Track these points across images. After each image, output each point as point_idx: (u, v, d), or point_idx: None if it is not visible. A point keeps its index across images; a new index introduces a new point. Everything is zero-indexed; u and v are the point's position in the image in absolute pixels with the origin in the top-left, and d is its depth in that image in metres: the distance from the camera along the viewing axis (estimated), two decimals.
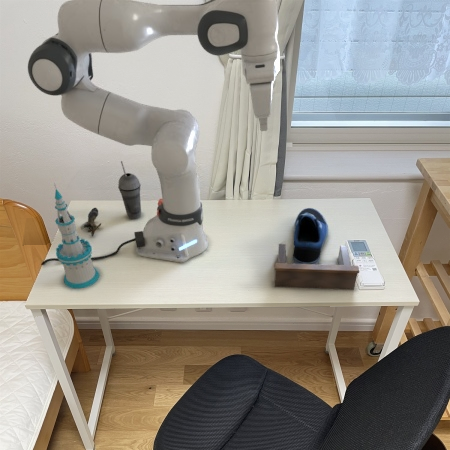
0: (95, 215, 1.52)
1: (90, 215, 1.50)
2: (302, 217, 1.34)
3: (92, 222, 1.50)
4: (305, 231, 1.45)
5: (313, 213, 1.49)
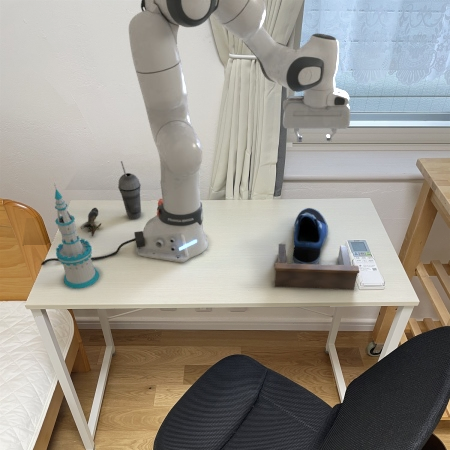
0: (95, 215, 1.52)
1: (90, 215, 1.50)
2: (302, 217, 1.34)
3: (92, 222, 1.50)
4: (305, 231, 1.45)
5: (313, 213, 1.49)
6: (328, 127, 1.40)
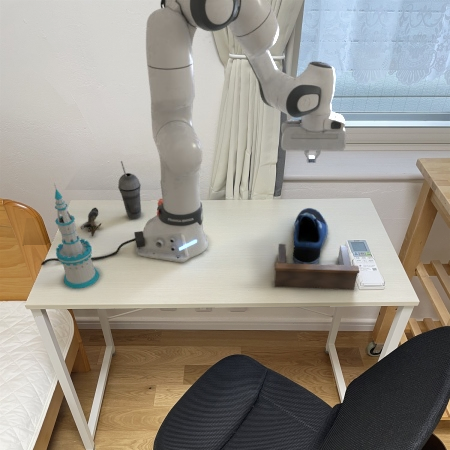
0: (95, 215, 1.52)
1: (90, 215, 1.50)
2: (302, 217, 1.34)
3: (92, 222, 1.50)
4: (305, 231, 1.45)
5: (313, 213, 1.49)
6: (325, 149, 1.45)
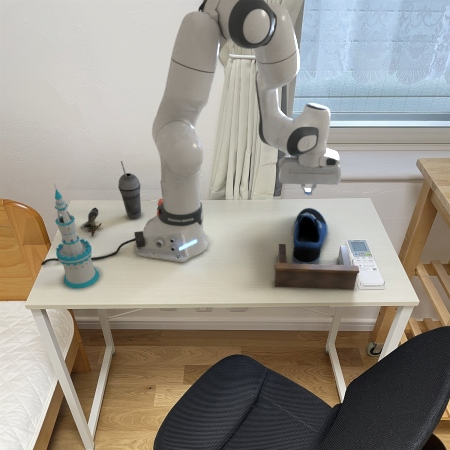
0: (95, 215, 1.52)
1: (90, 215, 1.50)
2: (302, 217, 1.34)
3: (92, 222, 1.50)
4: (305, 231, 1.45)
5: (313, 213, 1.49)
6: (321, 183, 1.51)
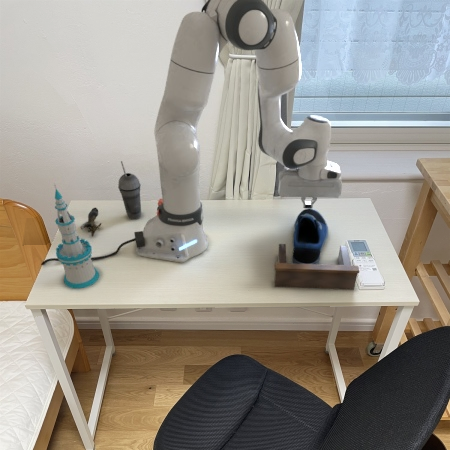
0: (95, 215, 1.52)
1: (90, 215, 1.50)
2: (302, 218, 1.34)
3: (92, 222, 1.50)
4: (305, 231, 1.44)
5: (313, 214, 1.49)
6: (321, 196, 1.48)
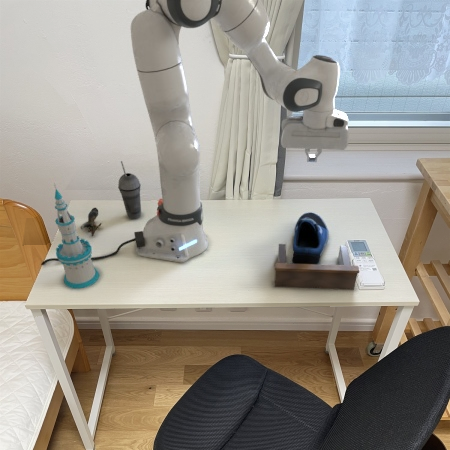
0: (95, 215, 1.52)
1: (90, 215, 1.50)
2: (302, 222, 1.32)
3: (92, 222, 1.50)
4: (305, 235, 1.43)
5: (313, 218, 1.47)
6: (327, 147, 1.39)
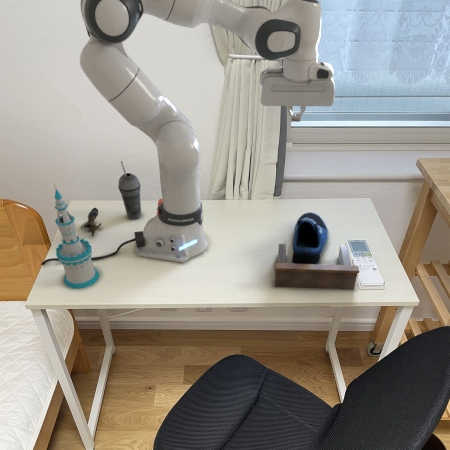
0: (95, 215, 1.52)
1: (90, 215, 1.50)
2: (301, 222, 1.32)
3: (92, 222, 1.50)
4: (305, 235, 1.43)
5: (313, 218, 1.47)
6: (311, 104, 1.25)
